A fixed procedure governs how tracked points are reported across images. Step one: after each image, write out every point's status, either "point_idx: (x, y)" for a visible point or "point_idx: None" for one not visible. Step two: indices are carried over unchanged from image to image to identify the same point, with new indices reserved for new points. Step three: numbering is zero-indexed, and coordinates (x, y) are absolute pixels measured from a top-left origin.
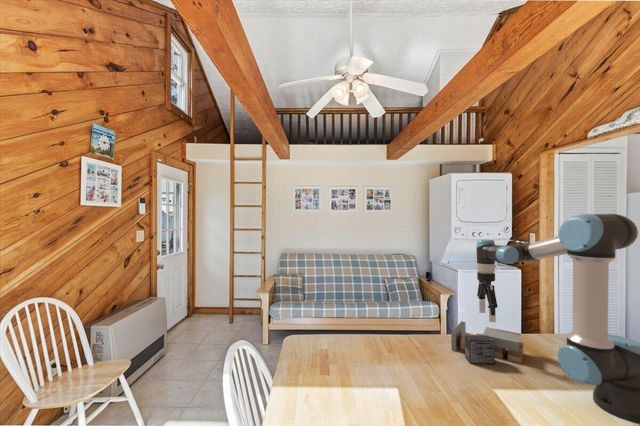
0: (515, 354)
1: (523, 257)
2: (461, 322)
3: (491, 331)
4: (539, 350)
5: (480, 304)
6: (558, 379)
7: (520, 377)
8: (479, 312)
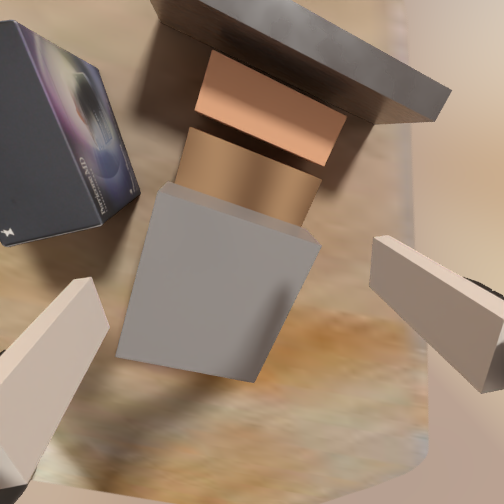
0: None
1: None
2: (427, 86)
3: (244, 259)
4: (285, 375)
5: (435, 290)
6: None
7: (7, 278)
8: (376, 237)
